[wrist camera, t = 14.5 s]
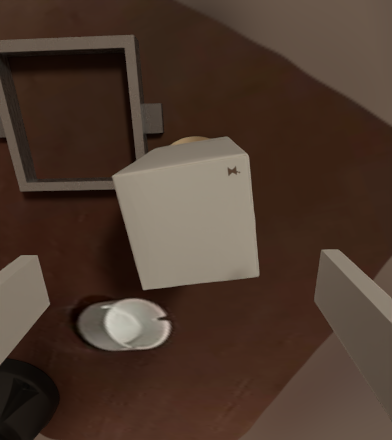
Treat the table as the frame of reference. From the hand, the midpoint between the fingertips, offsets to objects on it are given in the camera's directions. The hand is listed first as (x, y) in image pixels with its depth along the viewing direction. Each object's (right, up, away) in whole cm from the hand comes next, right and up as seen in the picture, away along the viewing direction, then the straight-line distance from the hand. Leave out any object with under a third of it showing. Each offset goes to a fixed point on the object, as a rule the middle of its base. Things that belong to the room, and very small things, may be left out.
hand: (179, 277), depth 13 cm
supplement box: (+1, +7, +19) cm, 21 cm away
